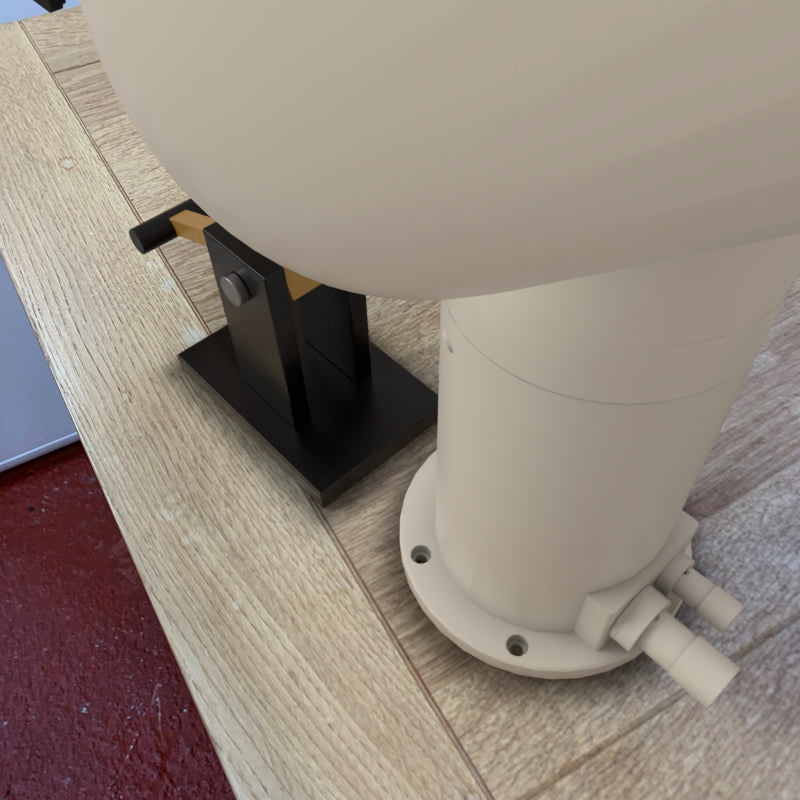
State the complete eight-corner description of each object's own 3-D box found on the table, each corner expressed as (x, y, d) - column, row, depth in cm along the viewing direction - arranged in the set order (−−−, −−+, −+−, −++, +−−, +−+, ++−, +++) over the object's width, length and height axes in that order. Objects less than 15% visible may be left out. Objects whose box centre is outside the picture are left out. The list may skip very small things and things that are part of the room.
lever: (140, 260, 42) (120, 219, 41) (218, 218, 44) (201, 178, 43) (266, 318, 33) (245, 267, 32) (357, 262, 35) (341, 212, 34)
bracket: (181, 369, 42) (122, 203, 34) (298, 297, 46) (271, 130, 37) (323, 509, 37) (294, 351, 28) (445, 415, 40) (451, 249, 32)
